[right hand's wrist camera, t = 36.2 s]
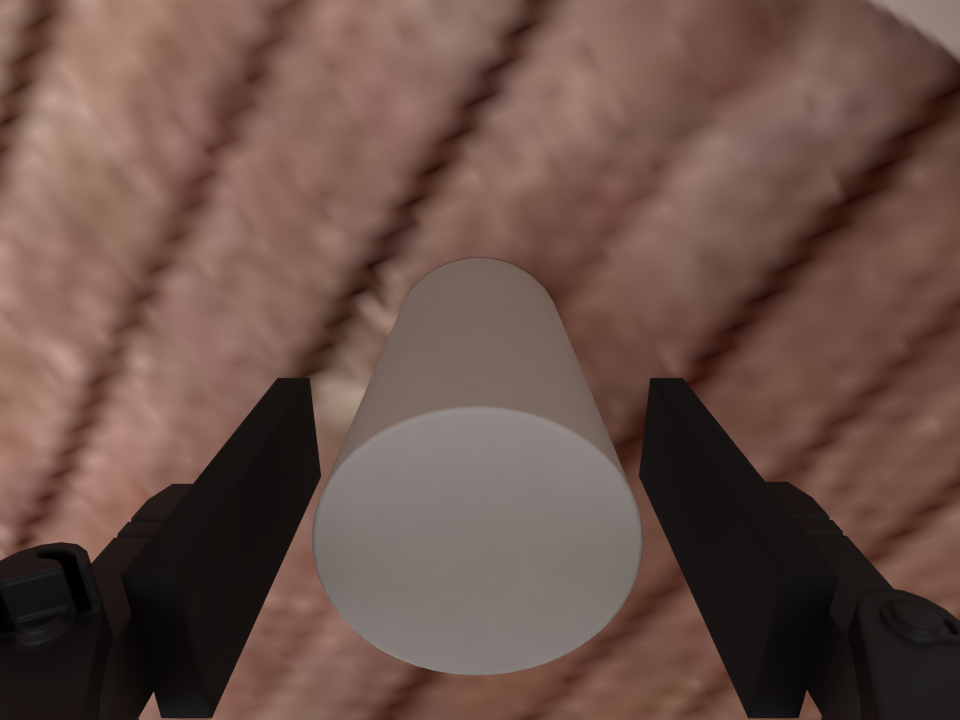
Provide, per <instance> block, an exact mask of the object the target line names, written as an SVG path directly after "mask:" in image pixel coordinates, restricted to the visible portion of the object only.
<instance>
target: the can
mask: <svg viewBox="0 0 960 720" xmlns="http://www.w3.org/2000/svg"><path fill="white" fill-rule="evenodd" d="M312 544H313V555H314V560H315V566H316V570H317V573H318V576H319V579H320V582H321V584H322V587H323V589H324V591H325V593H326V595H327V596H328V598H329V600H330V602H331V603H332V605H333V606H334V608H335V609H336V610H337V612H338V613H339V614H340V616H341V617H342V618H343V619H344V620H345V621H346V622H347V623H348V624H349V625H350V626H351V628H352V629H353V630H355V631H356V632H357V633H358V634H360V635H361V636H362V637H363V638H364V639H366V640H367V641H368V642H370V643H371V644H373V645H374V646H376V647H378V648H379V649H381V650H382V651H384V652H386V653H388V654H390V655H392V656H394V657H396V658H398V659H400V660H403V661H406V662H408V663H411V664H414V665H416V666H420V667H423V668H427V669H431V670H435V671H440V672H446V673H452V674H464V675H494V674H502V673H510V672H516V671H520V670H525V669H529V668H533V667H536V666H539V665H542V664H545V663H548V662H550V661H553V660H555V659H557V658H559V657H561V656H564V655H566V654H568V653H570V652H571V651H573V650H575V649H576V648H578V647H580V646H581V645H583V644H584V643H586V642H587V641H588V640H590V639H591V638H592V637H594V636H595V635H596V634H598V633H599V632H600V631H601V630H602V629H603V628H604V627H605V626H606V625H607V624H608V623H609V622H610V621H611V620H612V618H613V617H614V616H615V615H616V613H617V612H618V611H619V610H620V608H621V607H622V605H623V604H624V602H625V600H626V599H627V597H628V595H629V594H630V592H631V589H632V587H633V585H634V582H635V580H636V577H637V574H638V570H639V566H640V562H641V557H642V546H643V532H642V521H641V517H640V513H639V509H638V505H637V502H636V500H635V497H634V495H633V493H632V490H631V488H630V485H629V483H628V481H627V478H626V476H625V473H624V471H623V468H622V466H621V464H620V461H619V459H618V456H617V454H616V452H615V449H614V447H613V444H612V442H611V439H610V437H609V435H608V432H607V430H606V427H605V425H604V423H603V420H602V418H601V415H600V413H599V411H598V408H597V406H596V403H595V401H594V398H593V396H592V394H591V391H590V389H589V386H588V384H587V382H586V379H585V377H584V374H583V372H582V369H581V367H580V365H579V362H578V360H577V357H576V355H575V353H574V350H573V348H572V345H571V343H570V341H569V338H568V336H567V333H566V331H565V328H564V326H563V324H562V321H561V319H560V316H559V314H558V312H557V309H556V307H555V305H554V302H553V300H552V299H551V297H550V296H549V294H548V292H547V291H546V290H545V289H544V287H543V286H542V285H541V284H540V283H539V282H538V281H537V280H536V279H535V278H534V277H532V276H531V275H530V274H528V273H527V272H525V271H524V270H522V269H520V268H518V267H516V266H515V265H512V264H509V263H507V262H504V261H500V260H495V259H488V258H468V259H463V260H457V261H454V262H451V263H448V264H446V265H443V266H441V267H439V268H437V269H435V270H434V271H432V272H431V273H429V274H428V275H426V276H425V277H424V278H423V279H422V280H420V281H419V282H418V284H417V285H416V286H415V287H414V288H413V289H412V290H411V292H410V293H409V295H408V296H407V298H406V300H405V302H404V304H403V306H402V308H401V310H400V312H399V315H398V317H397V319H396V322H395V324H394V326H393V329H392V331H391V333H390V336H389V338H388V340H387V343H386V345H385V347H384V350H383V352H382V354H381V357H380V359H379V361H378V364H377V366H376V368H375V371H374V373H373V375H372V378H371V380H370V382H369V385H368V387H367V389H366V392H365V394H364V396H363V399H362V401H361V403H360V406H359V408H358V410H357V413H356V415H355V417H354V420H353V422H352V424H351V427H350V429H349V431H348V434H347V436H346V438H345V441H344V443H343V445H342V448H341V450H340V452H339V455H338V457H337V459H336V462H335V464H334V466H333V469H332V471H331V473H330V476H329V478H328V480H327V483H326V485H325V487H324V490H323V492H322V494H321V497H320V500H319V503H318V506H317V509H316V512H315V517H314V524H313V531H312Z"/></svg>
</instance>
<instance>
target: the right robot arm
mask: <svg viewBox="0 0 960 720" xmlns="http://www.w3.org/2000/svg"><path fill="white" fill-rule="evenodd" d="M320 478H321V471H320V463H319V454H318V446H317V437H316V429H315V420H314V412H313V403H312V395H311V386H310V378H277V380H276V381H275V382H274V383H273V385H272V386H271V387H270V388H269V390H268V391H267V392H266V393H265V395H264V396H263V397H262V398H261V400H260V401H259V402H258V403H257V405H256V406H255V407H254V408H253V410H252V411H251V412H250V413H249V415H248V416H247V417H246V418H245V420H244V421H243V422H242V423H241V425H240V426H239V427H238V428H237V430H236V431H235V432H234V433H233V435H232V436H231V437H230V438H229V440H228V441H227V442H226V443H225V445H224V446H223V447H222V448H221V450H220V451H219V452H218V453H217V455H216V456H215V457H214V458H213V460H212V461H211V462H210V463H209V465H208V466H207V467H206V468H205V470H204V471H203V472H202V473H201V475H200V476H199V477H198V478H197V480H196V481H195V482H194V483H193V484H172V485H170V486H169V487H167V488H165V489H164V490H162V491H161V492H159V493H158V494H156V495H155V496H153V497H151V498H150V499H148V500H147V501H146V502H145V504H144V505H143V506H142V507H141V508H140V509H139V510H138V511H137V513H136V514H135V515H134V516H133V517H132V518H131V522H128V523H127V524H126V525H125V526H124V527H123V528H122V530H121V531H120V532H119V533H118V536H117V538H114V539H113V540H112V541H111V542H110V543H109V544H108V545H107V546H106V548H105V549H104V550H103V551H102V552H101V553H100V554H99V556H98V557H97V558H96V559H95V560H94V561H93V562H92V563H91V562H90V559H89V556H88V553H87V551H86V550H85V549H83V548H82V547H81V546H79V545H78V544H71V543H63V542H60V543H52V544H44V545H39V546H36V547H33V548H29V549H26V550H23V551H20V552H17V553H15V554H13V555H11V556H9V557H7V558H5V559H3V560H1V561H0V720H139V716H140V714H141V713H142V711H143V709H144V707H145V706H146V704H147V702H148V700H149V699H150V697H151V695H152V693H153V692H154V694H155V697H156V701H157V704H158V708H159V711H160V715H161V718H212V716H213V714H214V712H215V710H216V708H217V705H218V703H219V701H220V699H221V697H222V694H223V692H224V690H225V688H226V685H227V683H228V681H229V679H230V677H231V674H232V672H233V670H234V668H235V666H236V663H237V661H238V659H239V657H240V654H241V652H242V650H243V648H244V646H245V643H246V641H247V639H248V637H249V635H250V632H251V630H252V628H253V626H254V624H255V621H256V619H257V617H258V615H259V612H260V610H261V608H262V606H263V604H264V601H265V599H266V597H267V595H268V593H269V590H270V588H271V586H272V584H273V581H274V579H275V577H276V575H277V573H278V570H279V568H280V566H281V564H282V562H283V559H284V557H285V555H286V553H287V551H288V548H289V546H290V544H291V542H292V539H293V537H294V535H295V533H296V531H297V528H298V526H299V524H300V522H301V520H302V517H303V515H304V513H305V511H306V508H307V506H308V504H309V502H310V500H311V497H312V495H313V493H314V491H315V489H316V486H317V484H318V482H319V480H320ZM639 478H640V480H641V482H642V484H643V486H644V489H645V491H646V493H647V495H648V497H649V500H650V502H651V504H652V506H653V508H654V511H655V513H656V515H657V517H658V520H659V522H660V524H661V526H662V528H663V531H664V533H665V535H666V537H667V539H668V542H669V544H670V546H671V548H672V551H673V553H674V555H675V557H676V559H677V562H678V564H679V566H680V568H681V570H682V573H683V575H684V577H685V579H686V581H687V584H688V586H689V588H690V590H691V593H692V595H693V597H694V599H695V601H696V604H697V606H698V608H699V610H700V612H701V615H702V617H703V619H704V621H705V623H706V626H707V628H708V630H709V632H710V635H711V637H712V639H713V641H714V643H715V646H716V648H717V650H718V652H719V654H720V657H721V659H722V661H723V663H724V666H725V668H726V670H727V672H728V674H729V677H730V679H731V681H732V683H733V685H734V688H735V690H736V692H737V694H738V696H739V699H740V701H741V703H742V705H743V708H744V710H745V712H746V714H747V716H748V718H799V715H800V711H801V708H802V704H803V701H804V697H805V694H806V690H808V692H809V694H810V696H811V697H812V699H813V701H814V702H815V704H816V706H817V708H818V709H819V711H820V713H821V715H822V718H821V720H960V621H959V620H958V619H956V618H955V617H954V616H953V615H952V614H950V613H949V612H948V611H947V610H945V609H944V608H942V607H940V606H938V605H936V604H935V603H933V602H931V601H929V600H927V599H926V598H923V597H920V596H917V595H914V594H912V593H909V592H906V591H902V590H895V589H893V588H892V586H891V585H890V584H889V583H888V582H887V581H886V580H885V579H884V577H883V576H882V575H881V574H880V573H879V572H878V571H877V570H876V568H875V567H874V566H873V565H872V564H871V563H870V562H869V561H868V559H867V558H866V557H865V556H864V555H863V554H862V553H861V552H860V550H859V549H858V548H857V547H856V546H855V545H854V544H853V543H852V542H851V540H850V539H849V538H848V537H847V536H843V531H842V530H841V529H840V528H839V527H838V526H837V525H836V524H835V522H834V521H833V520H829V516H828V515H827V513H826V512H825V511H824V510H823V509H822V508H821V507H820V506H819V504H818V503H817V502H816V501H815V500H814V499H813V498H812V497H810V496H809V495H807V494H806V493H804V492H803V491H801V490H799V489H798V488H796V487H795V486H793V485H792V484H790V483H788V482H765V481H764V480H763V478H762V477H761V476H760V475H759V473H758V472H757V471H756V470H755V468H754V467H753V466H752V465H751V463H750V462H749V461H748V460H747V458H746V457H745V456H744V455H743V453H742V452H741V451H740V450H739V448H738V447H737V446H736V445H735V443H734V442H733V441H732V440H731V438H730V437H729V436H728V435H727V433H726V432H725V431H724V430H723V428H722V427H721V426H720V425H719V423H718V422H717V421H716V420H715V418H714V417H713V416H712V415H711V413H710V412H709V411H708V410H707V408H706V407H705V406H704V405H703V403H702V402H701V401H700V400H699V398H698V397H697V396H696V395H695V393H694V392H693V391H692V390H691V388H690V387H689V386H688V385H687V383H686V382H685V381H684V380H683V378H650V386H649V395H648V403H647V412H646V420H645V429H644V437H643V446H642V454H641V463H640V471H639Z"/></svg>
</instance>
